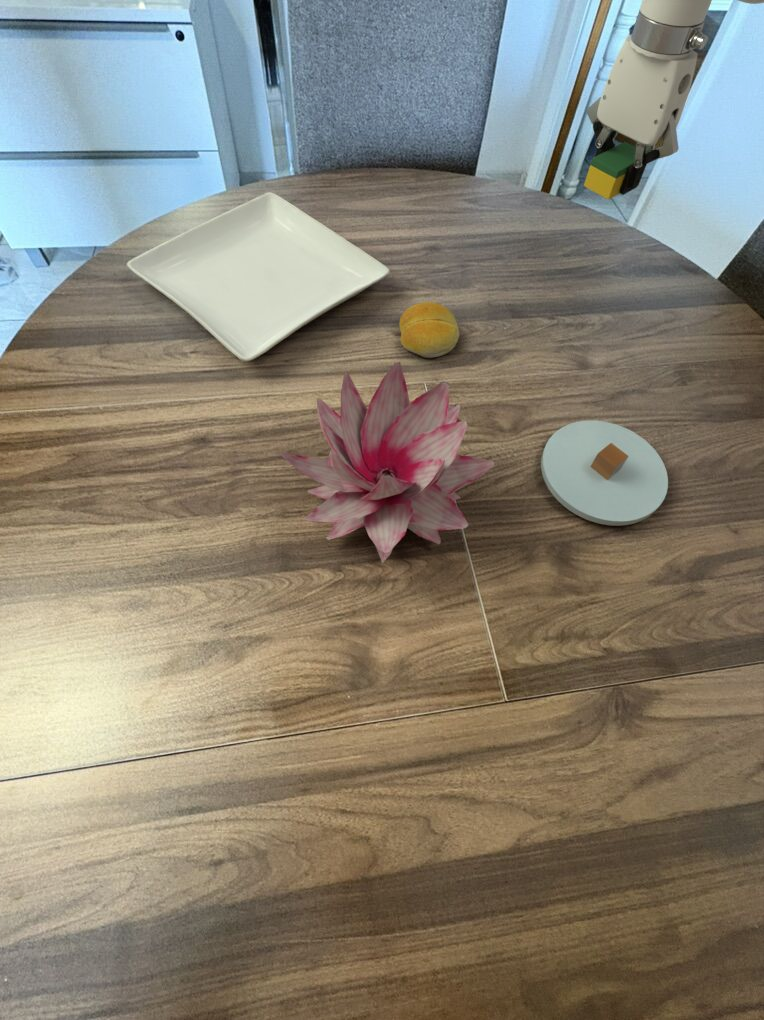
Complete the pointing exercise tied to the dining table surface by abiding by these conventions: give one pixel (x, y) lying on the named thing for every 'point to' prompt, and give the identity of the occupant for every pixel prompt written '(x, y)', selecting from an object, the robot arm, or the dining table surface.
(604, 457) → the small brown block
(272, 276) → the square plate
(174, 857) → the dining table surface
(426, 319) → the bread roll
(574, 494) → the plate
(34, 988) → the dining table surface
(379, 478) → the decorative flower
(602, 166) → the sponge
